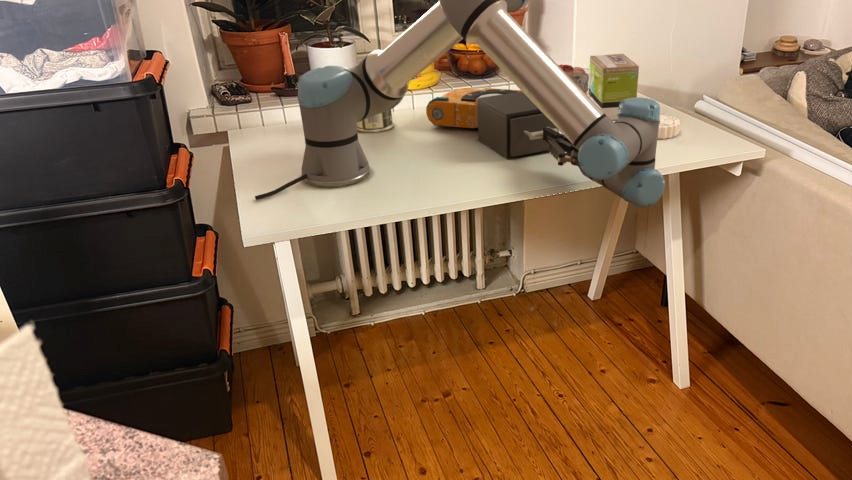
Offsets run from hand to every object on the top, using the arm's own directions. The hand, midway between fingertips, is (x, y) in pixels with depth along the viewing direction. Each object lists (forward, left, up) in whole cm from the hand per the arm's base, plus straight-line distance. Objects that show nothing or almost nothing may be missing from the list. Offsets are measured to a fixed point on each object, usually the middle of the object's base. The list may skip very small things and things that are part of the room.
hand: (545, 133), depth 161 cm
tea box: (+36, +25, -7) cm, 44 cm away
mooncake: (+36, +5, -7) cm, 37 cm away
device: (+3, +35, -7) cm, 36 cm away
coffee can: (-27, +46, -7) cm, 54 cm away
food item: (+33, +45, -7) cm, 56 cm away
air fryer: (0, +14, -7) cm, 16 cm away
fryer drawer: (0, +10, -6) cm, 11 cm away
